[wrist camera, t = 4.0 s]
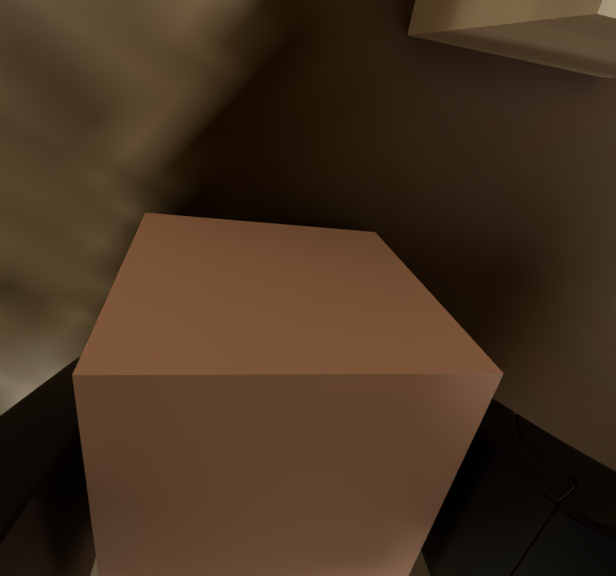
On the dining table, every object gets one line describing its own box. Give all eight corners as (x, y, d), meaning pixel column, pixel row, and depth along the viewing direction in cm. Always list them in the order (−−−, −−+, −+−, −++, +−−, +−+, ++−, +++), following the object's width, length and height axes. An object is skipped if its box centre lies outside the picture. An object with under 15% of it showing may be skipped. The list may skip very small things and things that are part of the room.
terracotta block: (335, 396, 12) (402, 587, 8) (150, 399, 11) (105, 629, 6) (375, 232, 10) (503, 372, 5) (145, 212, 8) (72, 375, 4)
